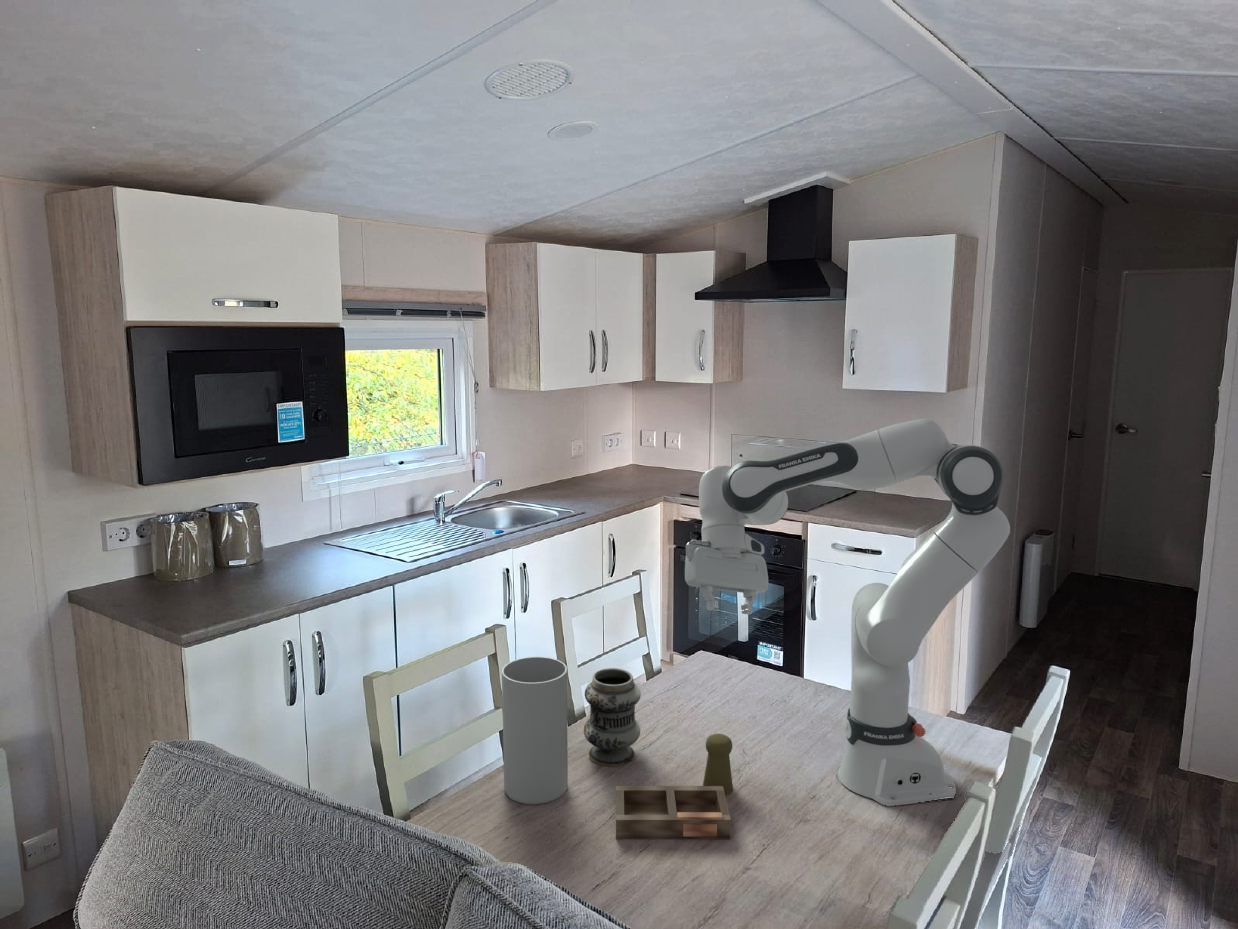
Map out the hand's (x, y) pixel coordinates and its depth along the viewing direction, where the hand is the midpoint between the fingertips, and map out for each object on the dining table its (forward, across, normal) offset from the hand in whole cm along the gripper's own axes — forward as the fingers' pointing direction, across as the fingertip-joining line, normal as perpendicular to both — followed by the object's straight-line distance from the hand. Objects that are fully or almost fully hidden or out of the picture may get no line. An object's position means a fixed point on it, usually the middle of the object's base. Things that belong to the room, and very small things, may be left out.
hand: (730, 612), depth 169 cm
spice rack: (+38, -10, +11) cm, 40 cm away
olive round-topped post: (+33, +4, +12) cm, 35 cm away
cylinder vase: (+31, -25, +34) cm, 52 cm away
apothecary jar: (+25, -6, +34) cm, 42 cm away
